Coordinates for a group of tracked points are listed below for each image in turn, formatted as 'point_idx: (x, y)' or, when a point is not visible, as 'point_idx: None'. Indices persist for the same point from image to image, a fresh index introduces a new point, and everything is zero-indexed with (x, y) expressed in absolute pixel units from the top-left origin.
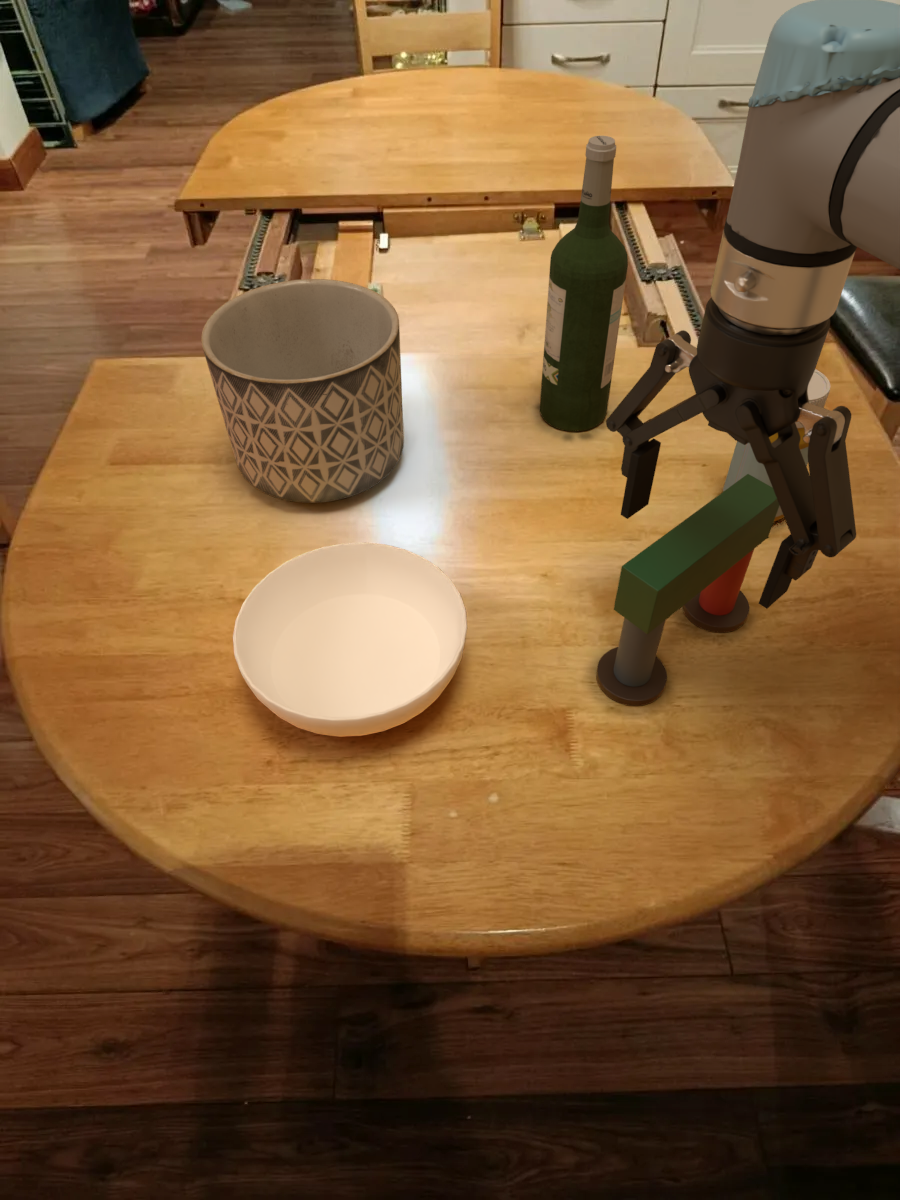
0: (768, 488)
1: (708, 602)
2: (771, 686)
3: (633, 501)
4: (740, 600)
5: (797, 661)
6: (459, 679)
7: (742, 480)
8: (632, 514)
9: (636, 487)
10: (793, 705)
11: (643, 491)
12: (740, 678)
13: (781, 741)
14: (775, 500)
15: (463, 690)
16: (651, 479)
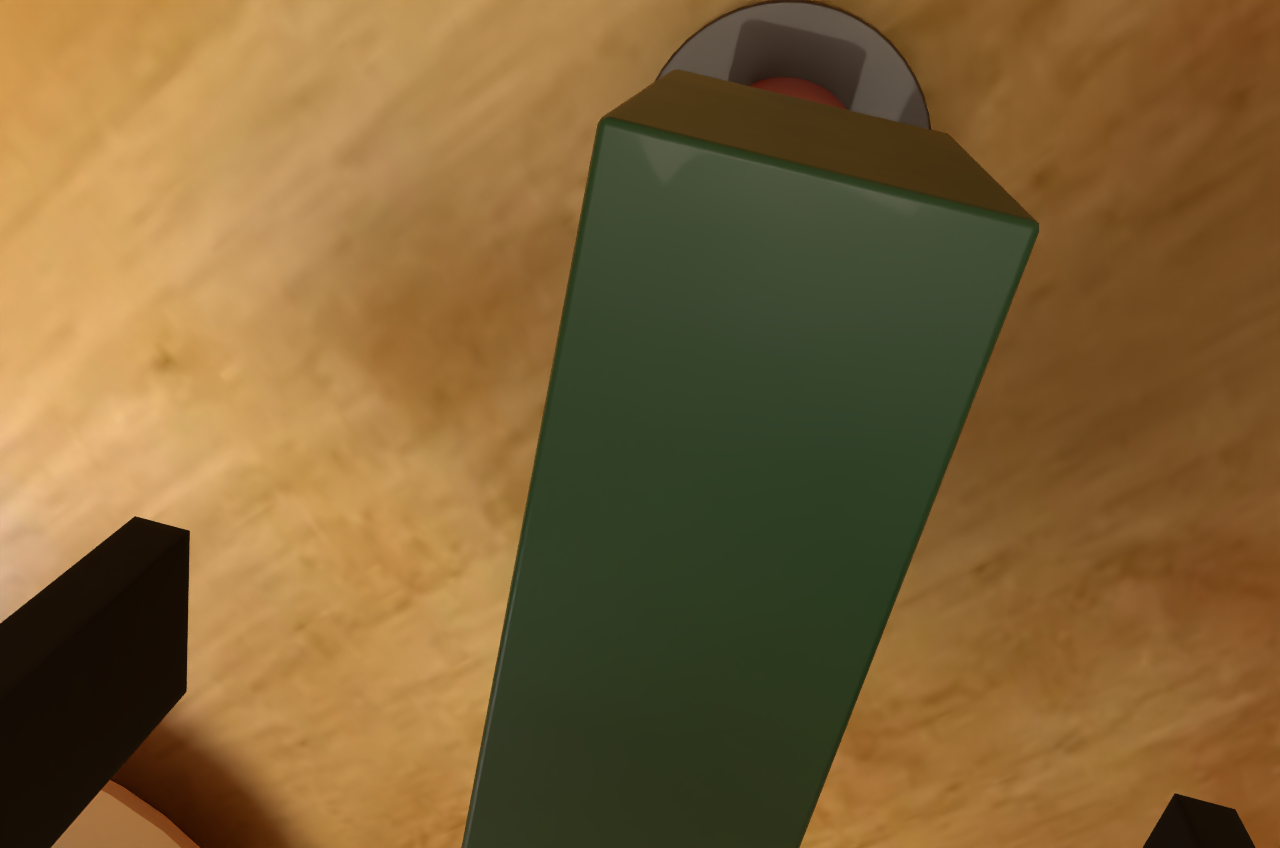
0: (871, 235)
1: None
2: (1118, 411)
3: (110, 757)
4: (872, 79)
5: (1195, 238)
6: (275, 814)
7: (601, 261)
8: (181, 662)
9: (27, 841)
10: (1217, 450)
11: (88, 698)
12: (996, 434)
13: (1202, 603)
14: (987, 360)
15: (307, 835)
16: (36, 693)
